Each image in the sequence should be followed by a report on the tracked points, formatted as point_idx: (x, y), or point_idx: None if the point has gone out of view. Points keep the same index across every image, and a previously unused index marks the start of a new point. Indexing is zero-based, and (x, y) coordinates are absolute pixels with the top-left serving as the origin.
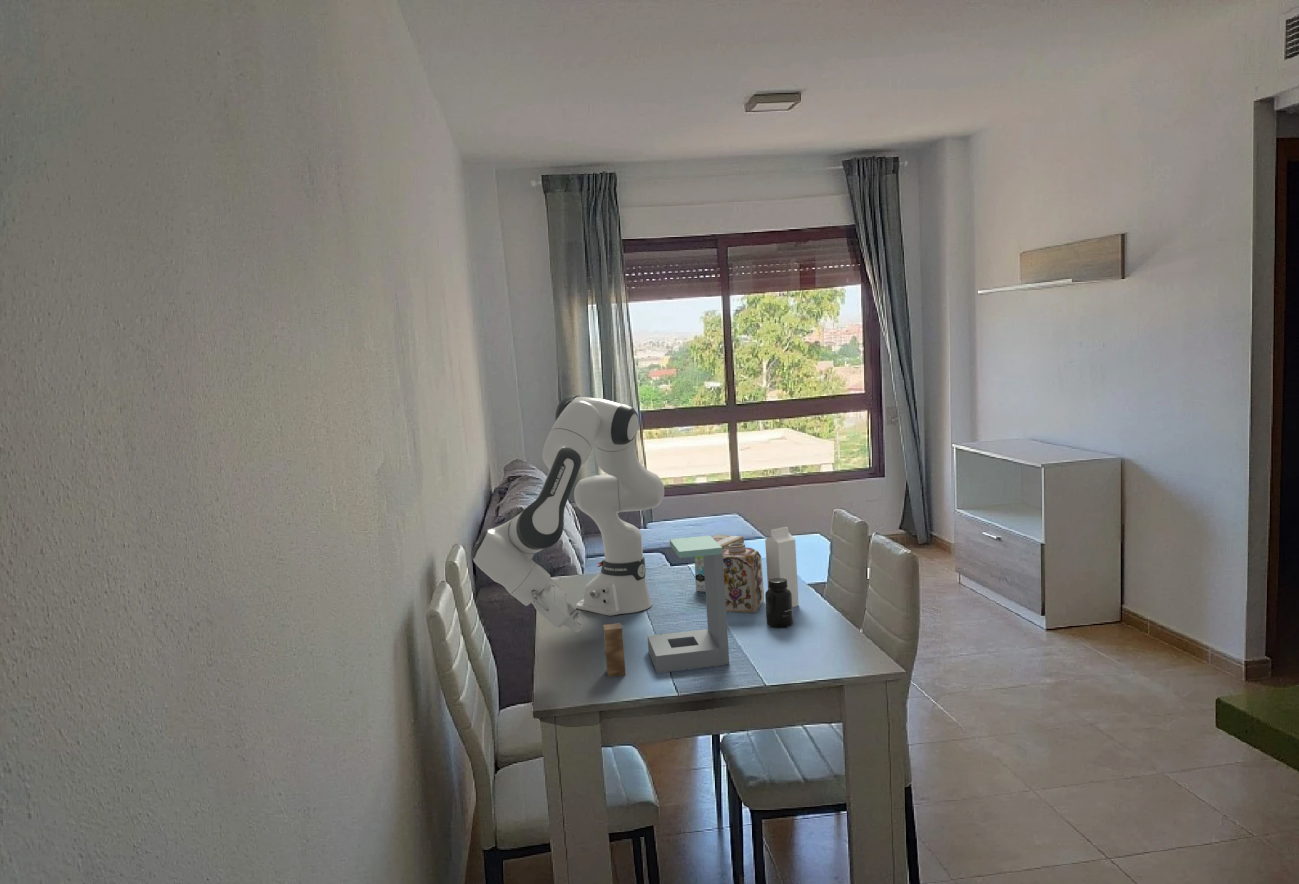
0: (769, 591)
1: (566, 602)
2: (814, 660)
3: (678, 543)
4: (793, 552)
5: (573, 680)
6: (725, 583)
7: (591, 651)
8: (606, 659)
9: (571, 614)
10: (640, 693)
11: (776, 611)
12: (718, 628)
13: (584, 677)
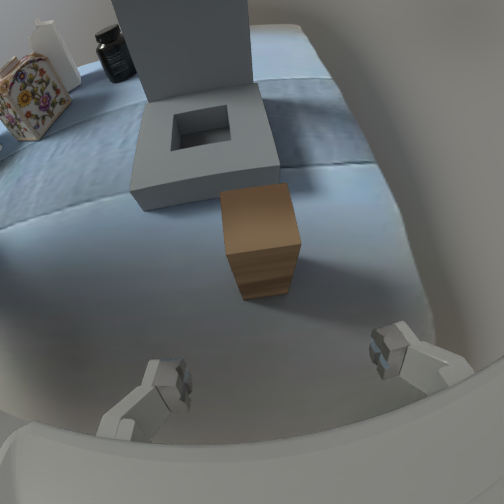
0: (109, 43)
1: (280, 452)
2: (259, 46)
3: None
4: (58, 31)
5: (298, 380)
6: (30, 101)
7: (102, 340)
8: (270, 285)
9: (182, 404)
10: (385, 219)
11: (129, 55)
12: (249, 54)
13: (282, 354)
